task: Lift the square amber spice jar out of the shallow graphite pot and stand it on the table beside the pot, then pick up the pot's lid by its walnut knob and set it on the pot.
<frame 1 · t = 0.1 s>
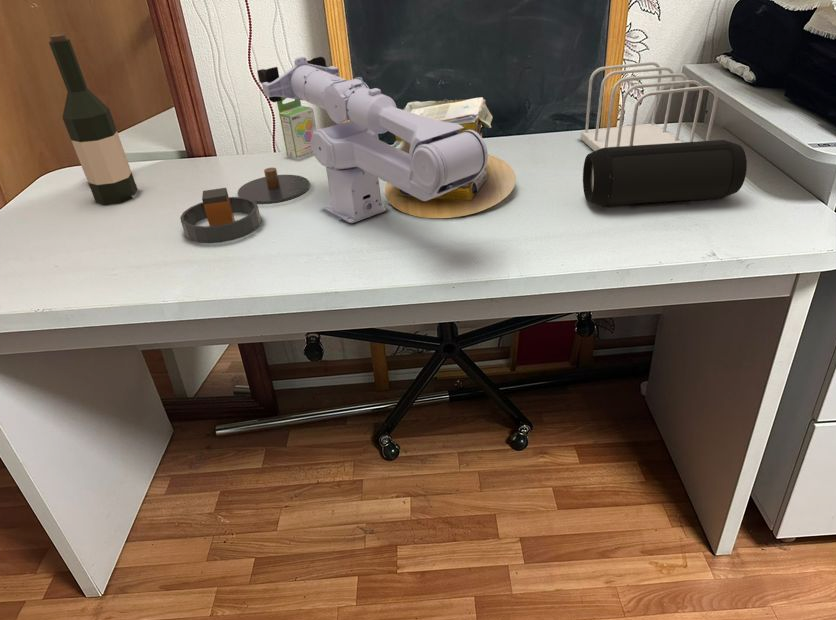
hand: (278, 71, 115), 22 cm above the table, tool horizontal, fingers open, 7 cm apart
portable speaker: (657, 202, 111), on the table
wine bottle: (117, 197, 127), on the table
lid: (274, 189, 124), point 1 cm above the table
file sorter: (639, 154, 131), on the table
stacked yellow boxes: (450, 192, 120), on the table
ink box: (304, 155, 143), on the table
spice jar: (223, 227, 111), resting on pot
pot: (224, 229, 111), on the table
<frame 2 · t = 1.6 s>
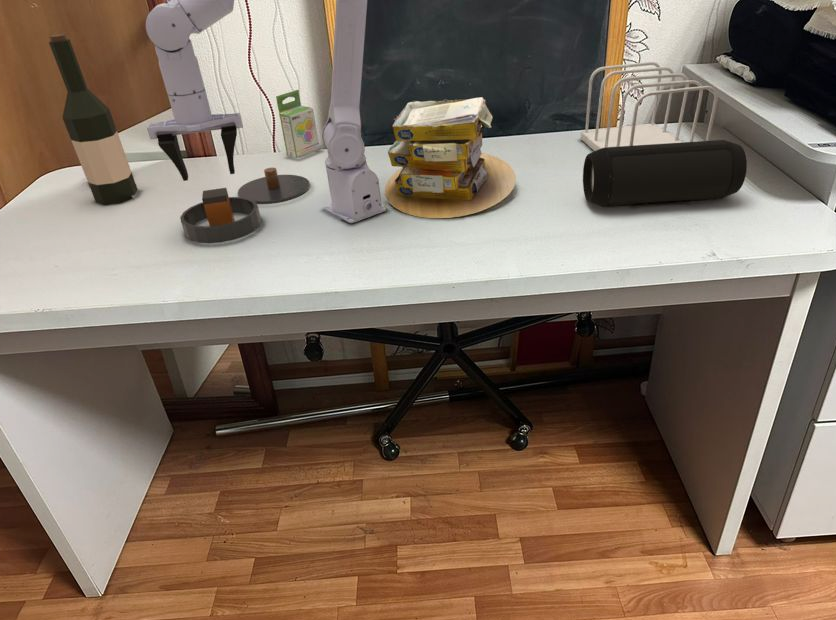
hand: (209, 175, 105), 10 cm above the table, tool pointing down, fingers open, 7 cm apart
nothing on the table moved.
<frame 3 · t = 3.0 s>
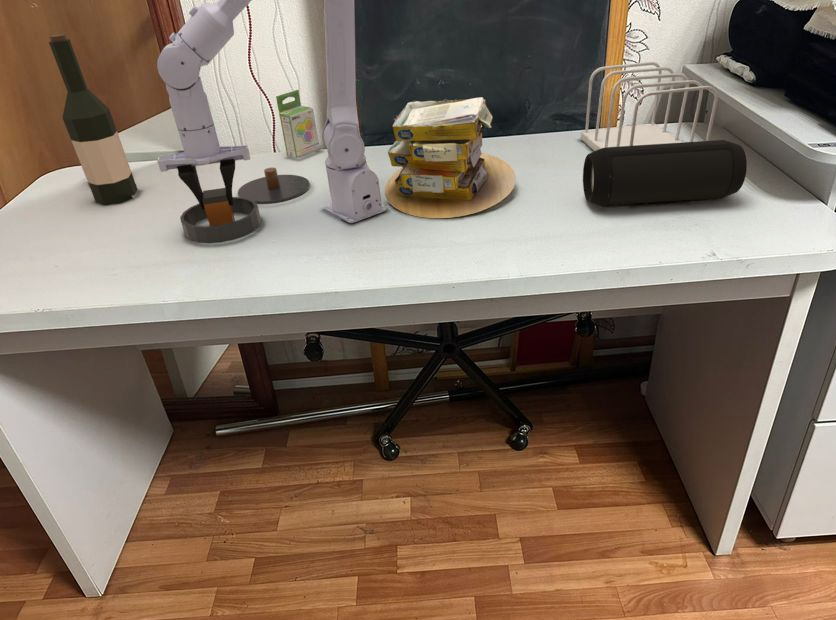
hand: (217, 205, 109), 5 cm above the table, tool pointing down, fingers closed on spice jar, 4 cm apart
spice jar: (223, 227, 111), resting on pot, touching gripper
everything else where it was.
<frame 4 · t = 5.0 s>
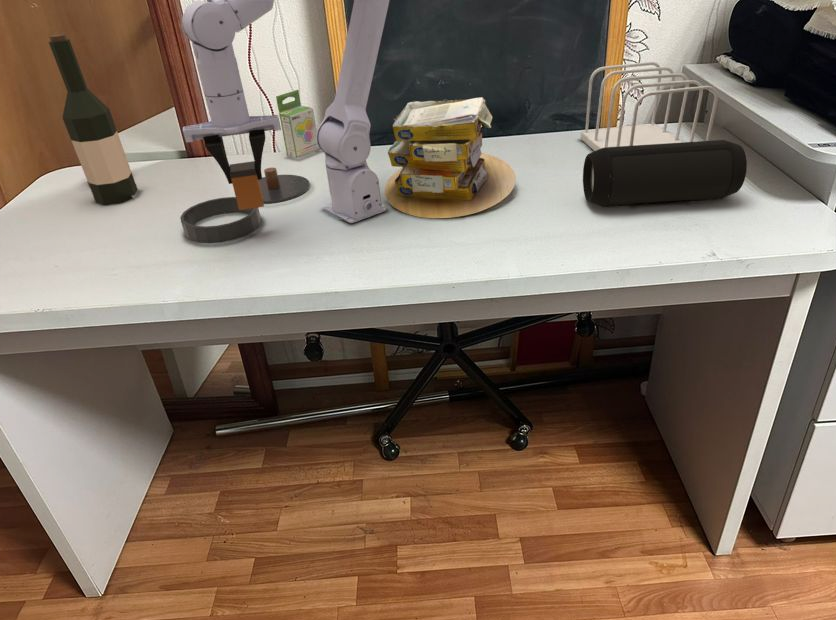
hand: (245, 179, 102), 10 cm above the table, tool pointing down, fingers closed on spice jar, 4 cm apart
spice jar: (251, 203, 104), point 6 cm above the table, touching gripper
everything else where it was.
when the fingers open (4 cm above the table, at t = 7.2 s): spice jar stays where it is, on the table.
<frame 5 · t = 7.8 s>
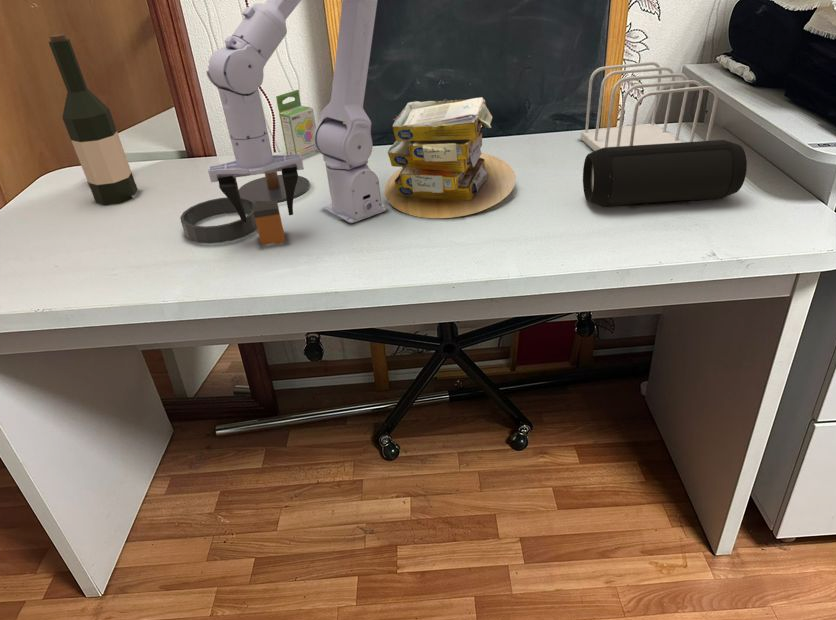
hand: (267, 216, 104), 4 cm above the table, tool pointing down, fingers open, 7 cm apart
spice jar: (273, 241, 106), on the table
everything else where it was.
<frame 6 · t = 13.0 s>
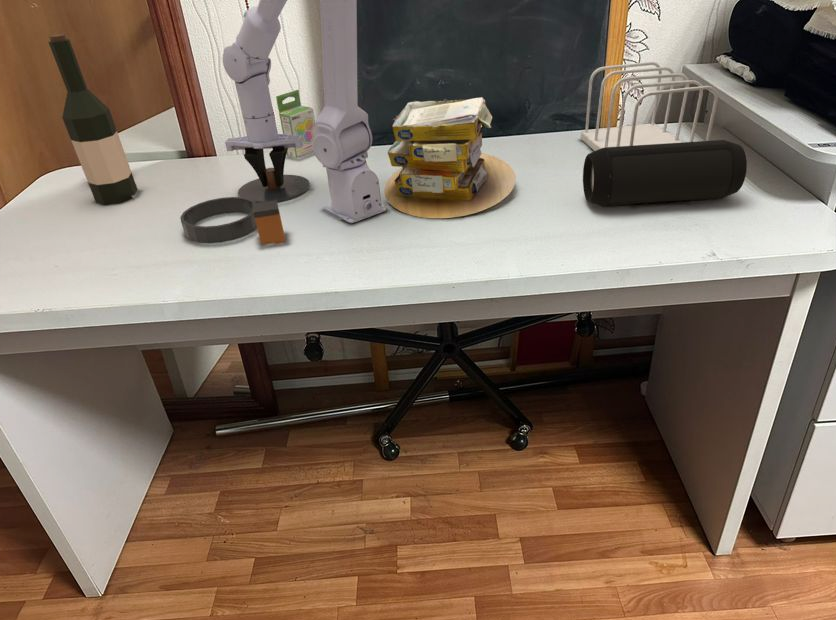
hand: (273, 184, 124), 2 cm above the table, tool pointing down, fingers closed on lid, 2 cm apart
lid: (274, 189, 124), point 1 cm above the table, touching gripper
everything else where it was.
when the fingers open (4 cm above the table, at t = 17.9 s): lid stays where it is, resting on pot.
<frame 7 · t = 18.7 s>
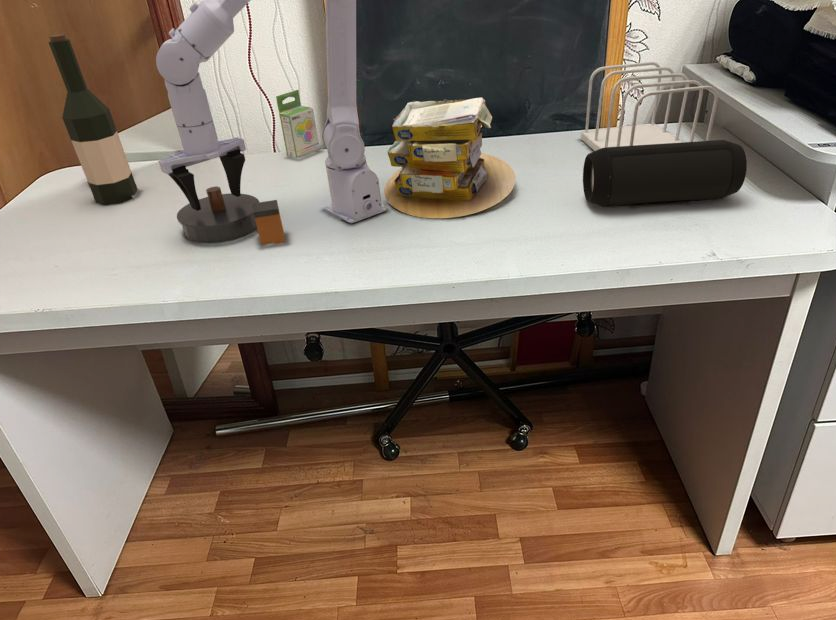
hand: (216, 201, 108), 5 cm above the table, tool pointing down, fingers open, 7 cm apart
lid: (219, 211, 109), point 3 cm above the table, touching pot
everything else where it was.
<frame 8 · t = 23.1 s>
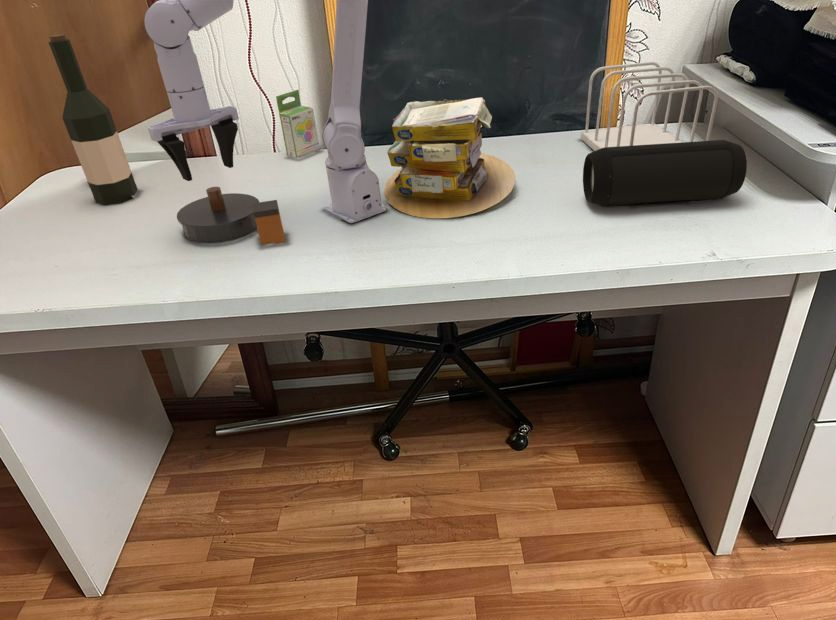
hand: (208, 172, 105), 10 cm above the table, tool pointing down, fingers open, 7 cm apart
nothing on the table moved.
at the end: spice jar inside the target area (0.1 cm from its centre), on the table; lid 0.0 cm off-centre on the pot, point 3.4 cm above the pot's base; lid tilted 0° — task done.
